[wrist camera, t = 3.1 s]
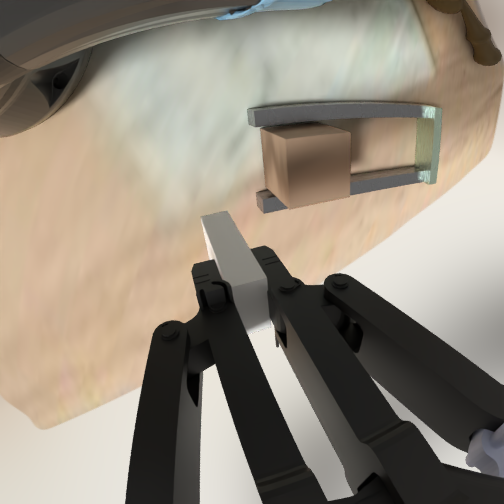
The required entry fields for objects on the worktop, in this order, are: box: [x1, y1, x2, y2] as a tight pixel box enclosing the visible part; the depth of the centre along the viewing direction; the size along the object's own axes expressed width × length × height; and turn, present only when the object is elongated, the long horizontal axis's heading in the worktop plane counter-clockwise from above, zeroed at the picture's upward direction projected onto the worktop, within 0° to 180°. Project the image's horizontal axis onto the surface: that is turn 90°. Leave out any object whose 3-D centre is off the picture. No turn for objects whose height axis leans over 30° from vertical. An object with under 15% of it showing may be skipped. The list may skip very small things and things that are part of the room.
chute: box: [247, 102, 442, 214], centre depth 29 cm, size 10×24×3 cm, turn 96°
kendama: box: [426, 0, 502, 66], centre depth 21 cm, size 6×10×20 cm
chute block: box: [260, 122, 351, 209], centre depth 27 cm, size 6×6×6 cm
